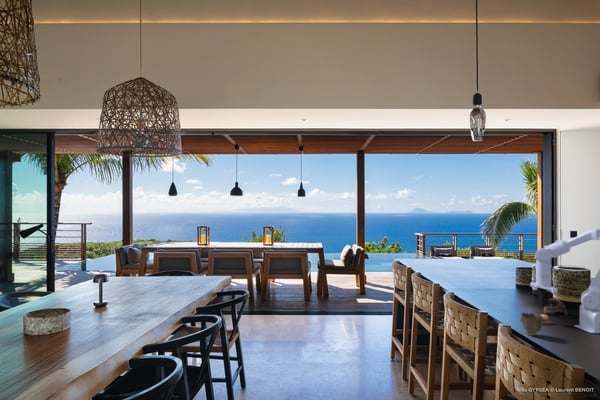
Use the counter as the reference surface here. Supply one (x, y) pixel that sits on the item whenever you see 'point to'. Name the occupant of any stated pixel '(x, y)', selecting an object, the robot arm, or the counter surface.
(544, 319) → the terracotta button
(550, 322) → the button panel
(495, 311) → the counter surface
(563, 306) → the pottery mug
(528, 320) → the cup
